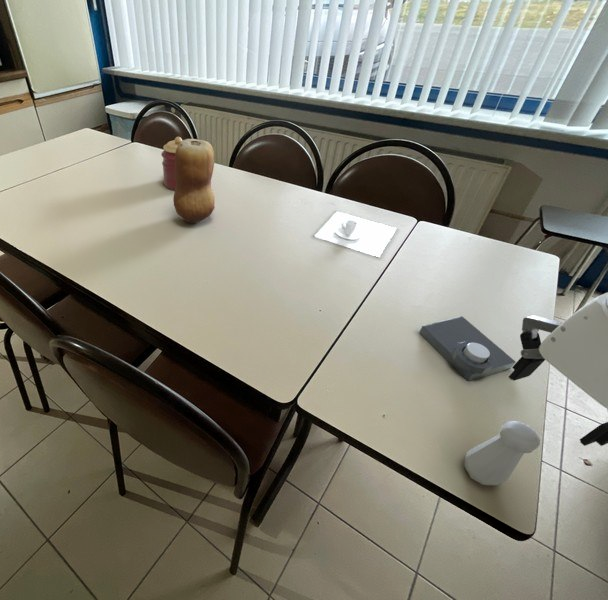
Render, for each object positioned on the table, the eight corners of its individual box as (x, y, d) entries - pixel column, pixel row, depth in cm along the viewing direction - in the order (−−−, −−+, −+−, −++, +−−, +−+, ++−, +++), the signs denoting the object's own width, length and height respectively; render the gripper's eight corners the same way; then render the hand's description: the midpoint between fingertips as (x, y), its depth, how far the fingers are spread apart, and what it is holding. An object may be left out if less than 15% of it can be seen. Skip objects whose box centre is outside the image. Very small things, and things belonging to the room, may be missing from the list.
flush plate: (512, 370, 75) (523, 357, 73) (465, 384, 73) (475, 371, 70) (457, 322, 86) (465, 310, 83) (415, 333, 83) (422, 320, 80)
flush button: (490, 360, 72) (495, 355, 71) (474, 365, 72) (478, 359, 70) (474, 346, 75) (478, 340, 74) (458, 350, 74) (462, 344, 73)
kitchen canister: (186, 174, 149) (185, 129, 138) (203, 186, 141) (203, 138, 129) (158, 181, 144) (153, 135, 132) (173, 194, 136) (170, 145, 124)
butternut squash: (217, 227, 118) (219, 148, 101) (176, 231, 116) (170, 151, 100) (210, 207, 128) (211, 132, 111) (172, 210, 127) (167, 135, 110)
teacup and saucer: (341, 224, 120) (344, 212, 117) (365, 231, 116) (369, 219, 113) (331, 235, 114) (334, 224, 112) (356, 243, 111) (360, 232, 108)
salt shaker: (474, 449, 63) (517, 407, 54) (507, 480, 59) (559, 440, 50) (451, 464, 61) (492, 423, 52) (484, 497, 57) (533, 459, 48)
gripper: (813, 371, 30) (648, 461, 42) (597, 255, 43) (515, 350, 54) (755, 393, 29) (600, 481, 40) (548, 267, 41) (474, 362, 53)
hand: (551, 406), depth 47 cm, fingers open, 9 cm apart
